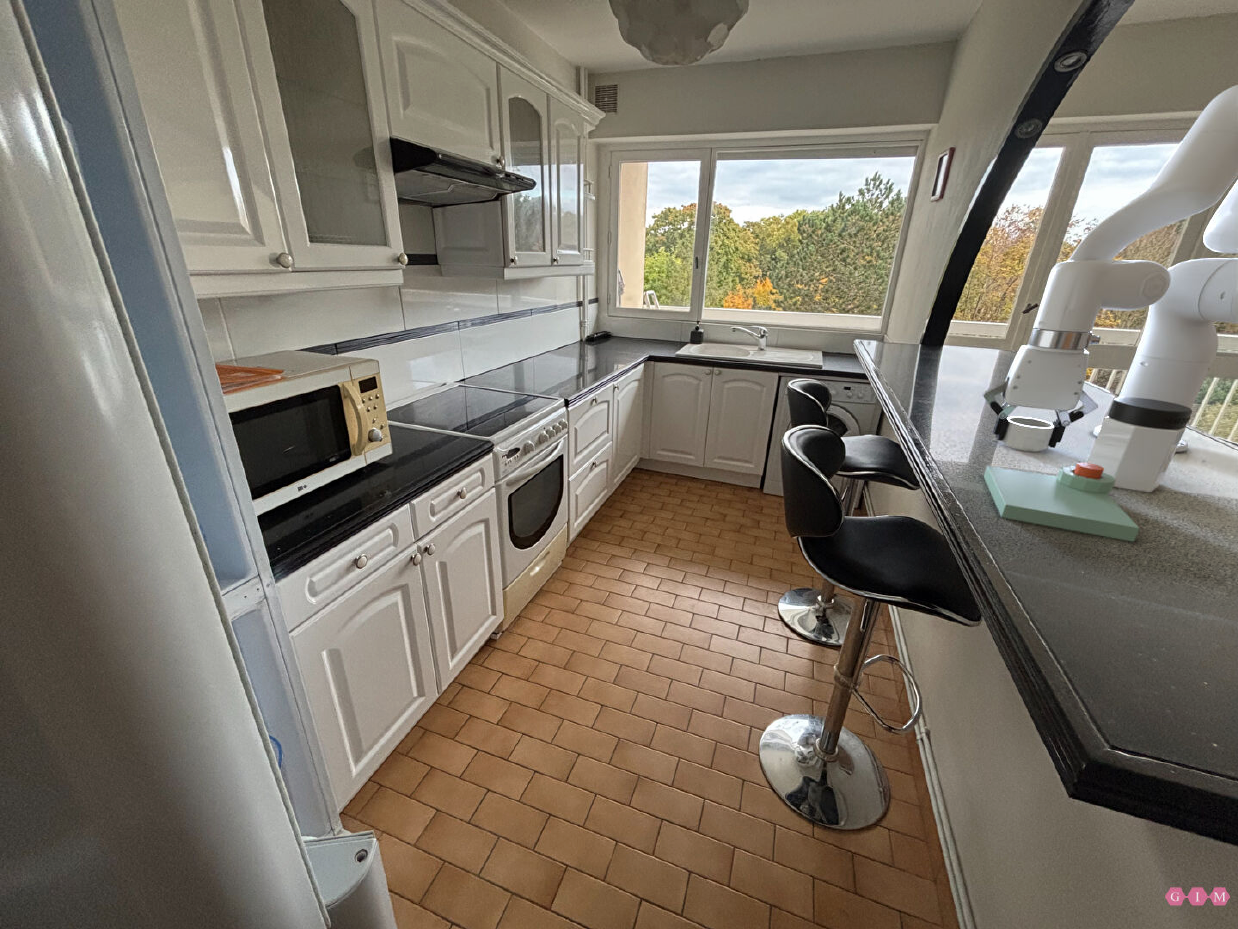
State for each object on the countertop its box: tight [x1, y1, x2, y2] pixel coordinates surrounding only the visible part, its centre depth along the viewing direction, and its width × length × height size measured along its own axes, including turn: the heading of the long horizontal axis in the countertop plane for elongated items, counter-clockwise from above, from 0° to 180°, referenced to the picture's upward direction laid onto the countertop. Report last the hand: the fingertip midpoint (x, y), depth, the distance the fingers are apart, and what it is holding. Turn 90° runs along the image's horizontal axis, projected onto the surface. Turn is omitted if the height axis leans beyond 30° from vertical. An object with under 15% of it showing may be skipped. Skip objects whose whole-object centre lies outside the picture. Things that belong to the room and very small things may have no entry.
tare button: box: [1074, 462, 1104, 479], centre depth 70 cm, size 3×3×2 cm
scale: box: [983, 465, 1141, 543], centre depth 68 cm, size 16×14×4 cm
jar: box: [1086, 397, 1193, 493], centre depth 75 cm, size 9×8×12 cm
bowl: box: [1000, 416, 1055, 453], centre depth 90 cm, size 7×7×4 cm
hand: (1024, 441), depth 91 cm, fingers closed on bowl, 6 cm apart
